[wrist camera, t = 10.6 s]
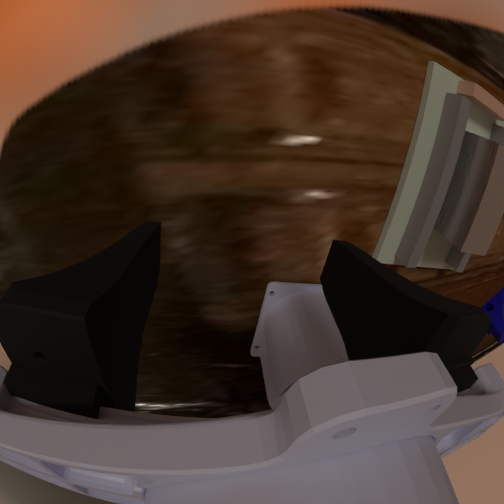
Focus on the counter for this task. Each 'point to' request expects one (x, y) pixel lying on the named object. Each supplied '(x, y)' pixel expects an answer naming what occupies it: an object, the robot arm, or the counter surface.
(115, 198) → the counter surface
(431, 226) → the drive tray
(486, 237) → the block
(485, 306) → the cable clip
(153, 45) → the counter surface
